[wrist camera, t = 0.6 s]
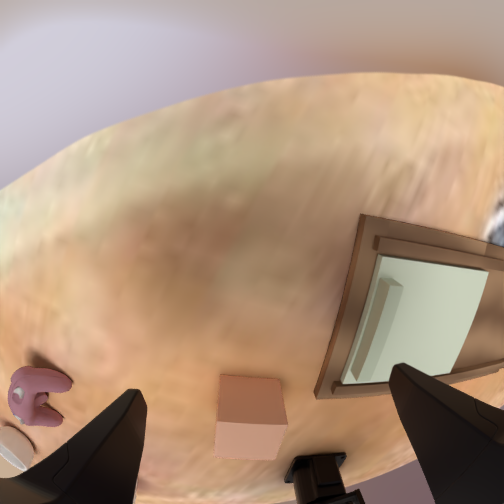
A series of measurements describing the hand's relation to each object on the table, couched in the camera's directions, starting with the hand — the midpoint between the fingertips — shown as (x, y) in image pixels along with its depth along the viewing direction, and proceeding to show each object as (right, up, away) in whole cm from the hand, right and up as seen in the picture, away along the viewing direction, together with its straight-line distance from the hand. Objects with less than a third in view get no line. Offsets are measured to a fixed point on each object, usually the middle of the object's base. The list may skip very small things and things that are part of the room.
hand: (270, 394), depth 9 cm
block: (-1, -8, +14) cm, 17 cm away
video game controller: (-23, -10, +14) cm, 29 cm away
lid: (+14, -1, +12) cm, 18 cm away
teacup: (-40, -26, +17) cm, 51 cm away
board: (+20, -2, +13) cm, 24 cm away
